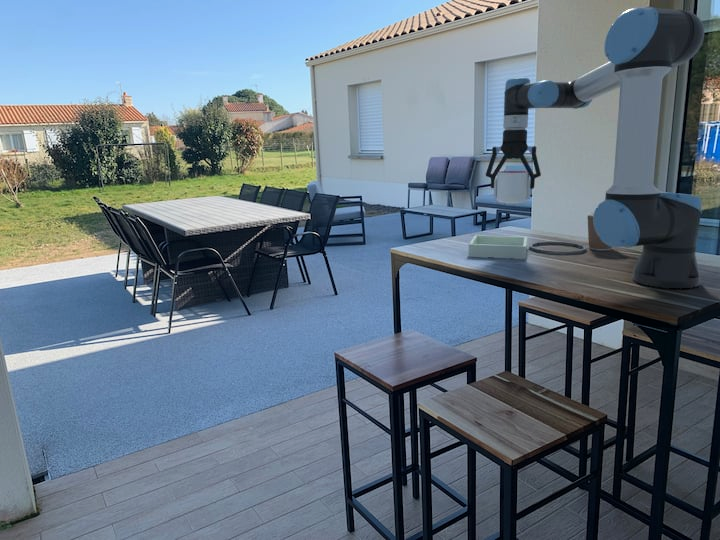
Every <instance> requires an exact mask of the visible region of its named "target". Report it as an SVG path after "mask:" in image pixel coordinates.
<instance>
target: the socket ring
mask: <svg viewBox="0 0 720 540" xmlns="http://www.w3.org/2000/svg"><path fill="white" fill-rule="evenodd" d="M544 244H556V245H555V246H569V247H575V248H578V250H576V249H575V250H550V249H544V248H543V249H542V248H538V246H545V245H544ZM528 245H529V247H528V249H529V250H530V251H532V250H533V251H532V252H535V251H536V253H540V252H541V254H546V253H547V255H560V254H561V256H562V255H564V256H566V255H567V256H569V255H580V254H584V253H587V252H588V248H587V246H586V245H584V244H580V243H578V242H577V243H576V242H568V241H555V240H554V241H551V240H545V241H536V242H531V243H529V244H528ZM537 245H538V246H537ZM533 246H534V247H533Z"/></svg>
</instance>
